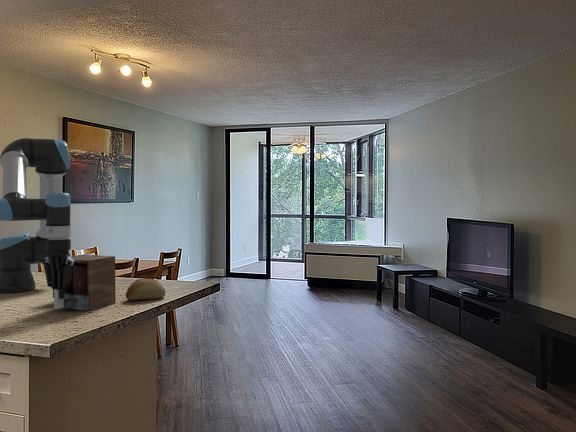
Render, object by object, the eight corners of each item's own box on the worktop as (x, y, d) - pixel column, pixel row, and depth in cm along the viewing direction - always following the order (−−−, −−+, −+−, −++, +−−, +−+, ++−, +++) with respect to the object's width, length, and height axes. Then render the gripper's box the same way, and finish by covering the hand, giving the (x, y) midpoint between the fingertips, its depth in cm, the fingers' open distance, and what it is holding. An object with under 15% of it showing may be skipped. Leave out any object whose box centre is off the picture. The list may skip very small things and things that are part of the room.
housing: (58, 307, 169) (57, 258, 168) (85, 300, 181) (85, 254, 180) (89, 310, 164) (89, 260, 163) (115, 303, 176) (115, 256, 175)
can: (94, 301, 174) (93, 263, 174) (88, 305, 168) (88, 265, 168) (77, 301, 174) (76, 263, 173) (70, 305, 168) (70, 265, 167)
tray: (47, 309, 164) (47, 295, 164) (84, 300, 180) (83, 287, 180) (78, 313, 159) (78, 298, 159) (113, 302, 175) (112, 289, 175)
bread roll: (123, 299, 184) (122, 278, 183) (161, 295, 191) (161, 275, 191) (128, 304, 175) (128, 282, 175) (168, 299, 183) (168, 279, 183)
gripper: (34, 238, 158) (35, 308, 159) (64, 240, 154) (65, 312, 154) (52, 237, 165) (53, 304, 166) (82, 238, 161) (82, 307, 161)
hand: (58, 308), depth 160 cm, fingers closed
